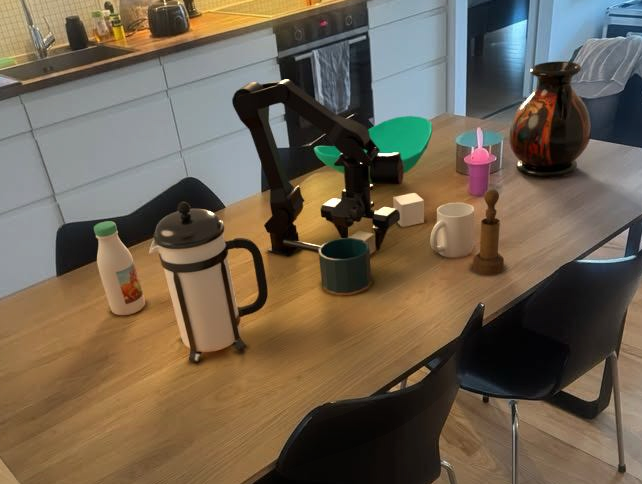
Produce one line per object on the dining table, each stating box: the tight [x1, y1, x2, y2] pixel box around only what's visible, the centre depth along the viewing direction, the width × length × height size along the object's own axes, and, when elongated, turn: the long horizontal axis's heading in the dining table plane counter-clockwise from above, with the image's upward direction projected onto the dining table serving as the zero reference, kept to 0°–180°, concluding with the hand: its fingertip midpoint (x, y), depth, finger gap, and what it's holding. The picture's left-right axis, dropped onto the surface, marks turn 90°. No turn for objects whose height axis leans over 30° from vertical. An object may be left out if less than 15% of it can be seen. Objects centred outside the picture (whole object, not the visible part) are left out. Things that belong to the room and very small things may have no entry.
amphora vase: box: [508, 61, 592, 180], centre depth 187 cm, size 22×22×28 cm
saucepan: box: [283, 237, 372, 296], centre depth 153 cm, size 11×22×8 cm, turn 54°
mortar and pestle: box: [472, 188, 505, 275], centre depth 146 cm, size 7×6×18 cm
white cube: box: [392, 192, 425, 228], centre depth 175 cm, size 6×6×6 cm
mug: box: [429, 202, 475, 259], centre depth 156 cm, size 12×8×10 cm
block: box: [348, 230, 376, 255], centre depth 163 cm, size 4×4×4 cm
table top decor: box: [313, 115, 433, 185], centre depth 200 cm, size 40×28×13 cm
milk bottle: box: [93, 220, 146, 316], centre depth 148 cm, size 8×8×20 cm
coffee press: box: [148, 201, 269, 364], centre depth 129 cm, size 17×16×30 cm
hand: (361, 246), depth 163 cm, fingers open, 9 cm apart
